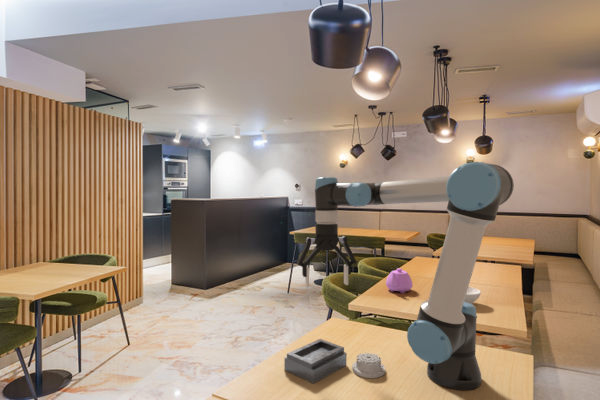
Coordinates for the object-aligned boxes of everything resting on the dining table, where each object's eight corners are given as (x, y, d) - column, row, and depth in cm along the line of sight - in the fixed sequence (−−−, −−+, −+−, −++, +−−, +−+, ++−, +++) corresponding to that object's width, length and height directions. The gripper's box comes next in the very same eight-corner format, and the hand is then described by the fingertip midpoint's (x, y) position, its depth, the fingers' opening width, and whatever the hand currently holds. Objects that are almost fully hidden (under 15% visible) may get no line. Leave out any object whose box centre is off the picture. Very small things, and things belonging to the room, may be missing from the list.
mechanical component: (390, 370, 121) (362, 360, 127) (390, 356, 121) (362, 347, 127) (375, 382, 113) (346, 372, 120) (375, 368, 113) (346, 358, 120)
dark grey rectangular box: (351, 362, 126) (352, 345, 126) (313, 383, 112) (313, 365, 112) (323, 351, 134) (323, 335, 134) (284, 370, 120) (284, 352, 120)
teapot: (405, 297, 199) (406, 274, 199) (379, 293, 207) (379, 270, 206) (416, 288, 216) (417, 267, 216) (392, 285, 224) (392, 264, 223)
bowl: (437, 301, 193) (438, 287, 192) (460, 297, 200) (460, 284, 200) (464, 311, 178) (465, 296, 178) (487, 306, 186) (488, 291, 186)
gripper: (357, 221, 137) (358, 280, 138) (288, 222, 132) (288, 284, 133) (365, 223, 130) (365, 285, 130) (292, 224, 125) (292, 290, 126)
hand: (326, 285), depth 132 cm, fingers open, 13 cm apart
